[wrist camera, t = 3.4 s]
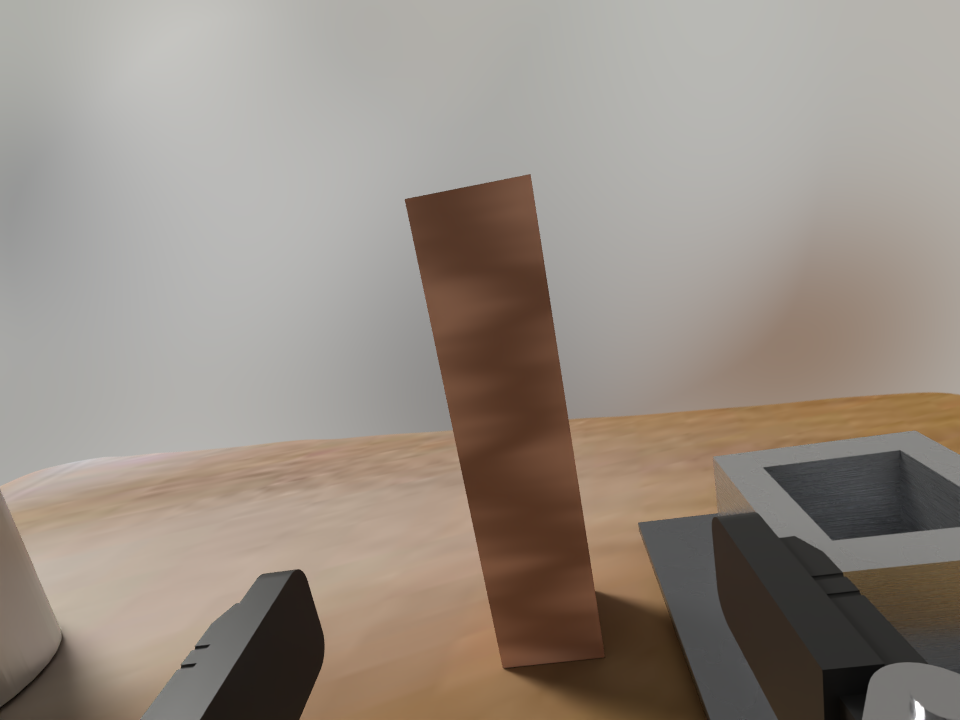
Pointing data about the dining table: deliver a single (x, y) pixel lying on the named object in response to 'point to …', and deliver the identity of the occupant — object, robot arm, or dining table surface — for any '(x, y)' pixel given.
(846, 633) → the robot arm
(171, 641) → the dining table surface
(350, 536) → the dining table surface
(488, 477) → the square peg
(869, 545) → the socket base
